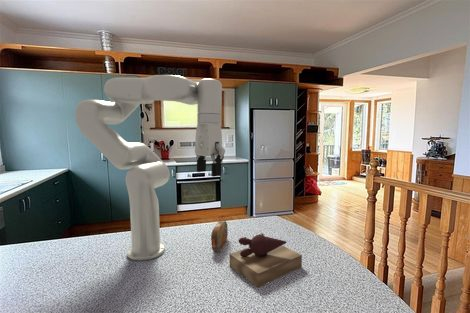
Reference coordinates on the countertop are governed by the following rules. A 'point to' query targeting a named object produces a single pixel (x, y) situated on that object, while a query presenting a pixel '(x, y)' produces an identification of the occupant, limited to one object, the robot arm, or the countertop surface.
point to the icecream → (260, 245)
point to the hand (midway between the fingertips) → (208, 173)
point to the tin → (219, 236)
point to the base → (266, 265)
